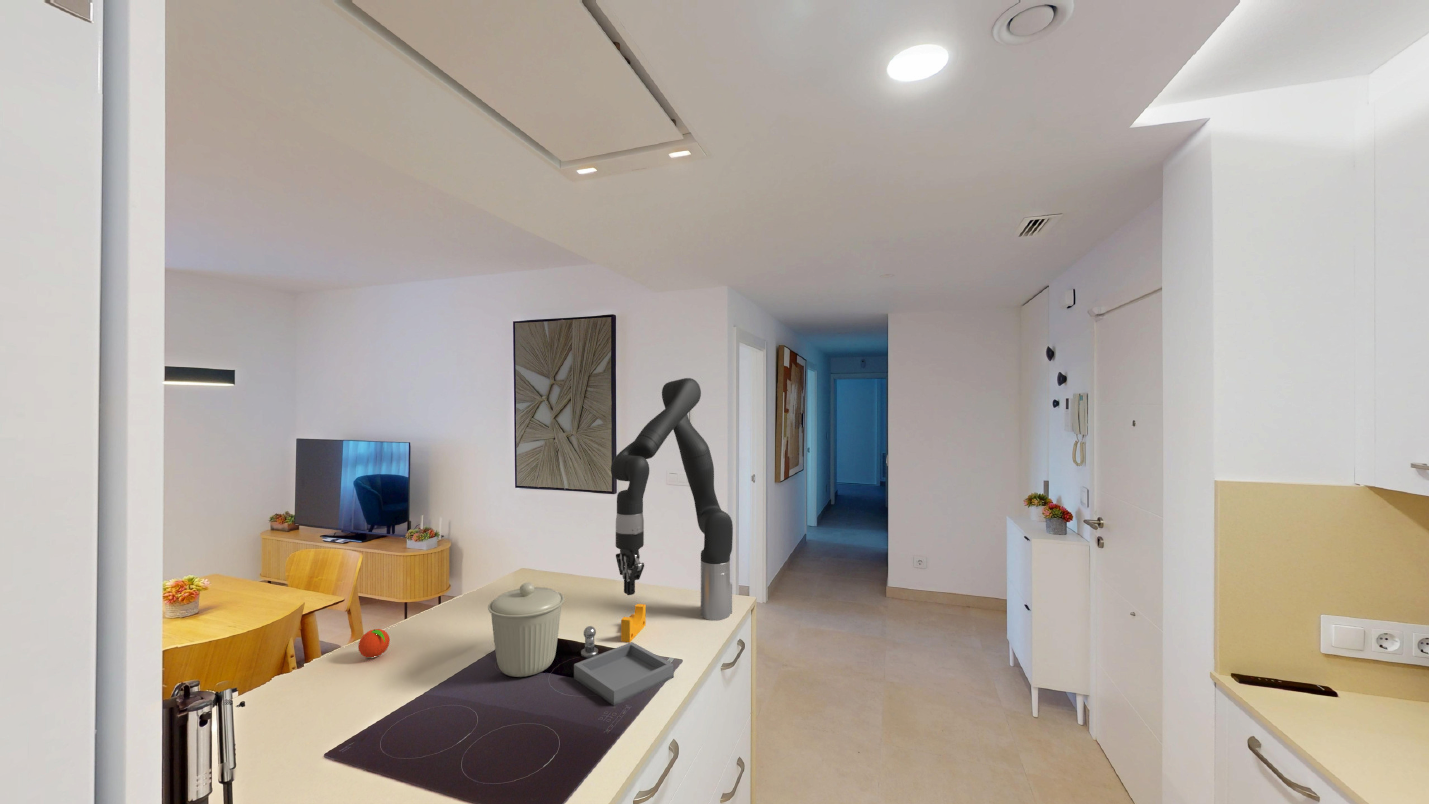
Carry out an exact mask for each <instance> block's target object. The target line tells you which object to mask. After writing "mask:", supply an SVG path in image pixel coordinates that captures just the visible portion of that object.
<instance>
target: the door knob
mask: <svg viewBox="0 0 1429 804" xmlns="http://www.w3.org/2000/svg"><path fill="white" fill-rule="evenodd" d="M596 634H597V630H596V628H595V627H594V626H592V625H589V626H586V627H585V628H584V630H583V637H584V648H583V649H581V650H580V656H581V657H583V658H586V659H589V658H591V657H594V656H597V655H599V649H598V648H597V647H595V636H596Z"/></svg>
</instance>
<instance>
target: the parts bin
mask: <svg viewBox="0 0 1429 804" xmlns="http://www.w3.org/2000/svg"><path fill="white" fill-rule="evenodd" d="M674 666H675V665H674V663H672V662H671V661H668V660H666V659H664V658H662V657H661V656H660V655H657V654H655V653H653V652H652V651H650V650H648V649H646V648H643V647H642V646H641V645H639V644H636V643H635V642H633V641H631V642H630V643H628V642H627V643H626V644H623V645H620V646H618V647H615V648H613V649H610V650H607V651H605V652H602V653H598V654H597V655H596V656H594V657H590V658H586V659H584V660H581V661H579V662H576V663H574V664H573V679H574V680H576V681H577V682H579V683H580V684H582V685H583V686H584V687H586V688H587V689H589V690H590V691H592V692H593V693H595V694H596V695H598V696H599V697H601V698H602V699H604V700H605V702H608V703H609V704H611V705H612V706H616V705H619V704H621V703H624V702H625V701H628V700H630V699H632V698H634V697H637V694H638V695H641V694H643V693H645V692H647V691H648V689H649V690H650V689H653V688H655V687H657V686H659V685H662V684H663V683H665V682H668V681H670V680H672V679H674V678H675V676H674V675H675V669H674V668H675V667H674ZM646 690H647V691H646ZM627 699H628V700H627Z"/></svg>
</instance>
